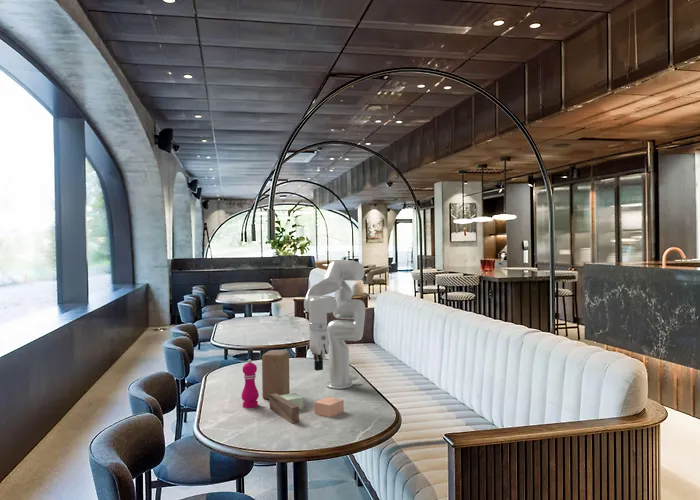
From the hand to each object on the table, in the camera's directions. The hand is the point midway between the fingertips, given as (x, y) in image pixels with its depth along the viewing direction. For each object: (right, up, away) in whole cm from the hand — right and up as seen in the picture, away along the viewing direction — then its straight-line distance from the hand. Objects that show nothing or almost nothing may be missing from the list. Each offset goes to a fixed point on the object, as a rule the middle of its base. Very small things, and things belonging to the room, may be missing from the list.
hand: (318, 369), depth 232 cm
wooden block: (-20, -15, +14) cm, 29 cm away
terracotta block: (+5, -16, -10) cm, 19 cm away
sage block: (-12, -16, -3) cm, 20 cm away
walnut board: (-13, -16, -13) cm, 24 cm away
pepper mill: (-29, -16, 0) cm, 33 cm away
